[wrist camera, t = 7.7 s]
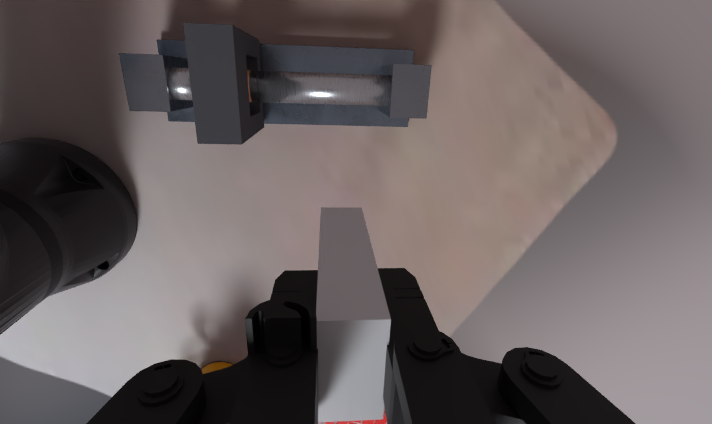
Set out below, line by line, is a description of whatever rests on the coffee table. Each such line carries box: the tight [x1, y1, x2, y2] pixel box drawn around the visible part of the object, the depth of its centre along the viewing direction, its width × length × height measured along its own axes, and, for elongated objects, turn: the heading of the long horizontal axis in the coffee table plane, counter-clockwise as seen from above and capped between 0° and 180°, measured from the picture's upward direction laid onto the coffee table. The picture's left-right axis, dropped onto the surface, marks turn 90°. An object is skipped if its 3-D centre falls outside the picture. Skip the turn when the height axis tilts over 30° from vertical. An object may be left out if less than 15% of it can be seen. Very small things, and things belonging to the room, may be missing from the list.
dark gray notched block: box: [183, 23, 264, 144], centre depth 28 cm, size 3×8×10 cm, turn 178°
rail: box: [119, 40, 432, 127], centre depth 31 cm, size 23×7×7 cm, turn 88°
